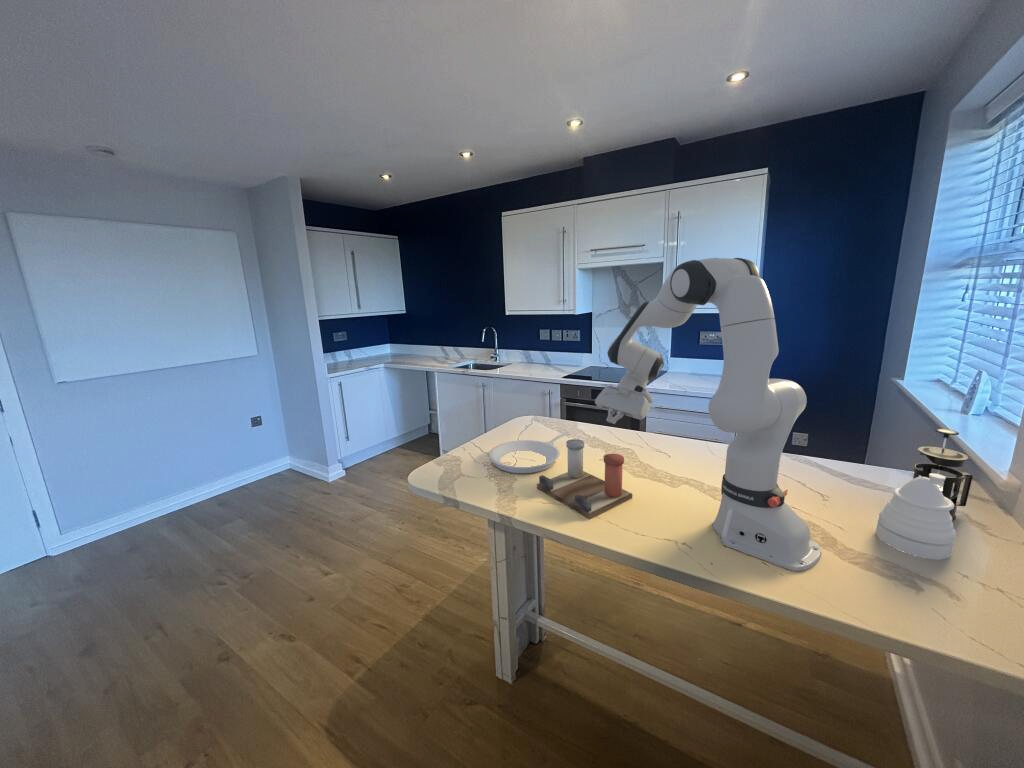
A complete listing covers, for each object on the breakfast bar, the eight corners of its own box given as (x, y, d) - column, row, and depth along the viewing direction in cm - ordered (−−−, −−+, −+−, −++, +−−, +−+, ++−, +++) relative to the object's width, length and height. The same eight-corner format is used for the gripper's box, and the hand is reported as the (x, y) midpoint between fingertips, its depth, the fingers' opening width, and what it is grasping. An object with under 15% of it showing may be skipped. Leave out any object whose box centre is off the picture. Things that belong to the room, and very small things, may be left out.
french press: (914, 518, 105) (931, 434, 100) (894, 500, 113) (909, 423, 108) (974, 525, 101) (995, 438, 96) (948, 506, 110) (967, 426, 104)
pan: (475, 462, 151) (474, 450, 150) (545, 435, 176) (545, 425, 175) (522, 485, 132) (522, 471, 131) (594, 451, 157) (594, 439, 155)
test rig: (632, 498, 120) (632, 484, 119) (589, 519, 110) (589, 504, 109) (577, 472, 138) (577, 460, 137) (537, 488, 128) (536, 475, 127)
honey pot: (965, 552, 91) (983, 479, 87) (927, 565, 88) (944, 489, 84) (898, 522, 103) (911, 457, 99) (862, 532, 100) (874, 465, 96)
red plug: (627, 493, 119) (628, 458, 117) (614, 499, 116) (614, 463, 113) (612, 486, 124) (612, 452, 121) (599, 491, 121) (599, 457, 118)
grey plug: (587, 474, 132) (588, 442, 130) (575, 479, 129) (575, 447, 126) (575, 468, 137) (575, 437, 134) (562, 473, 133) (562, 442, 131)
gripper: (603, 380, 149) (584, 410, 146) (650, 390, 132) (629, 424, 129) (610, 389, 152) (592, 419, 149) (657, 400, 136) (638, 434, 133)
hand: (610, 422), depth 139 cm, fingers closed
